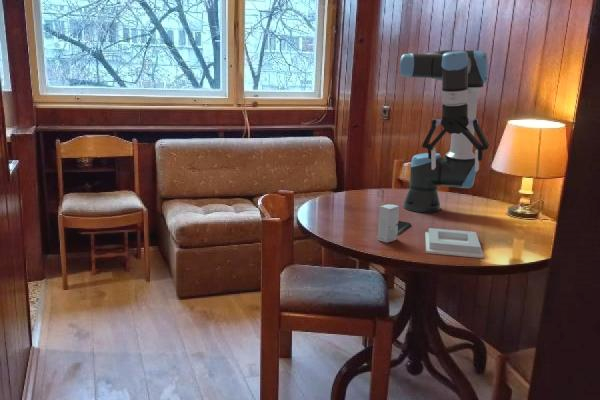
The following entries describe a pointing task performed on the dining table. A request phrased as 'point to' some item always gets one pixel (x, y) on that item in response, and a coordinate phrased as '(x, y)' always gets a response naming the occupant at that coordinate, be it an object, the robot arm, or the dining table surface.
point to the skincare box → (388, 223)
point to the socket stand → (453, 243)
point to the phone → (402, 226)
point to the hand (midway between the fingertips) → (454, 169)
